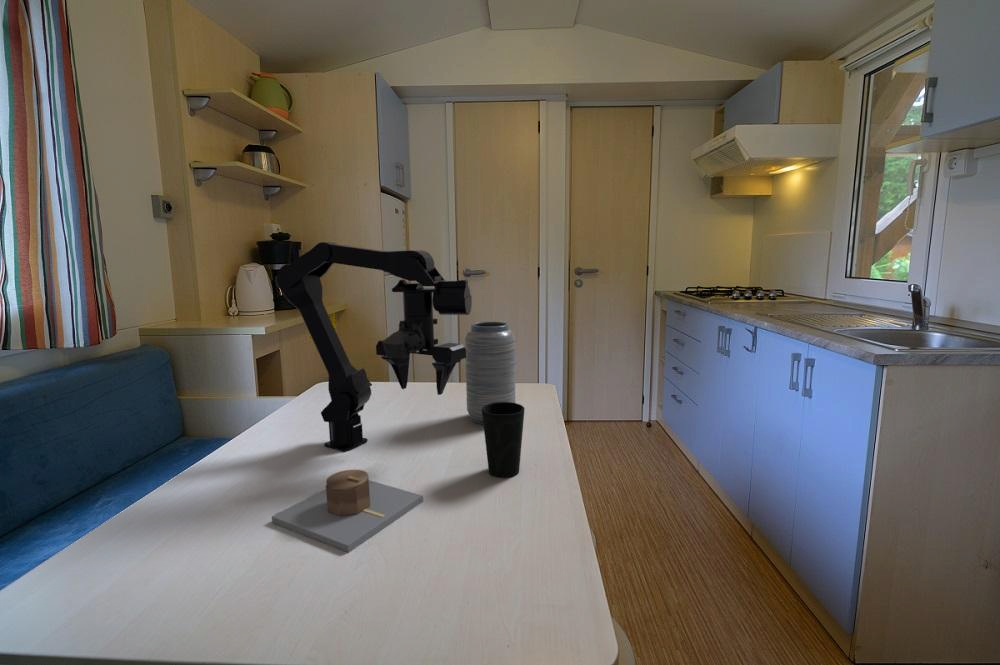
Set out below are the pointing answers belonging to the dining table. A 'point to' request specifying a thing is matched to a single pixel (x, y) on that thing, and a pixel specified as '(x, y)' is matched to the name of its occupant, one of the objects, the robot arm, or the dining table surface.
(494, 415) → the cup
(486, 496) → the dining table surface
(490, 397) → the vase
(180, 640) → the dining table surface
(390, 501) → the base plate
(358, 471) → the knob
